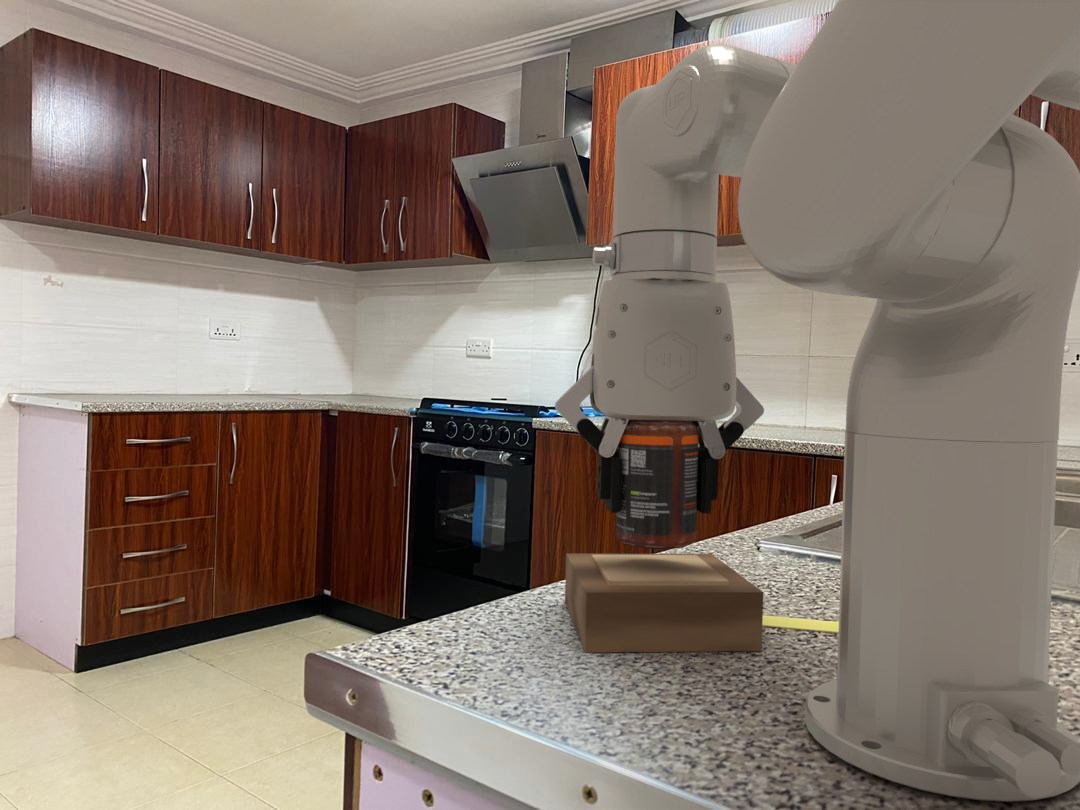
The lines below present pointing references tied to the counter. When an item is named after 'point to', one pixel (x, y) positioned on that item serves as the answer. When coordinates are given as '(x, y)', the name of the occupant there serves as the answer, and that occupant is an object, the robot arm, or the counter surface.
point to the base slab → (661, 603)
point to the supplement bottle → (658, 484)
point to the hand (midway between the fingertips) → (656, 507)
